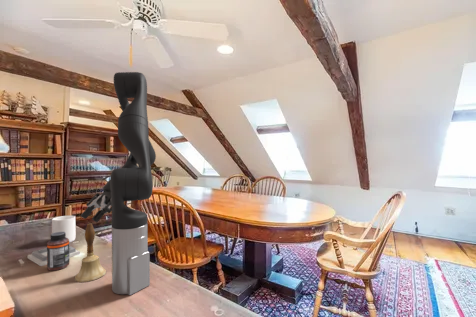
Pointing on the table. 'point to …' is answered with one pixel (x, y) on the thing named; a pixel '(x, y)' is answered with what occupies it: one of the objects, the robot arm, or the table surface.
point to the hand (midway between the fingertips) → (88, 219)
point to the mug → (65, 226)
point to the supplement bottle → (58, 251)
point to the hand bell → (90, 260)
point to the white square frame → (41, 255)
